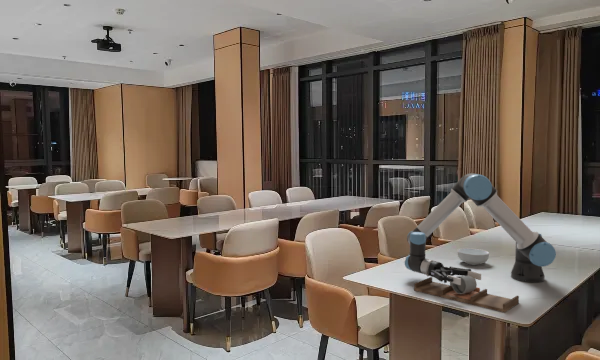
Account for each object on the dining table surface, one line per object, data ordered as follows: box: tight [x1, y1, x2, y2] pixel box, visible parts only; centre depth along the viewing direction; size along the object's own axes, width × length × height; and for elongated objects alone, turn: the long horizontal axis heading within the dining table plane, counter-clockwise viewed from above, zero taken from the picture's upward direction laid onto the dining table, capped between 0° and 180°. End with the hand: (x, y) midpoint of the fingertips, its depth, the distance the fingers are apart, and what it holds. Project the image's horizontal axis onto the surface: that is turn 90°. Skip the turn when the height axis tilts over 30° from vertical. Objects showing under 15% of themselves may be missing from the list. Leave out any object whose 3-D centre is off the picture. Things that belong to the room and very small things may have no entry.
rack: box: [413, 276, 520, 313], centre depth 199 cm, size 41×16×3 cm, turn 45°
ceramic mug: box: [449, 275, 478, 294], centre depth 199 cm, size 11×8×8 cm
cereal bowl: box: [457, 247, 490, 266], centre depth 257 cm, size 17×17×7 cm
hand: (470, 279), depth 196 cm, fingers open, 13 cm apart
